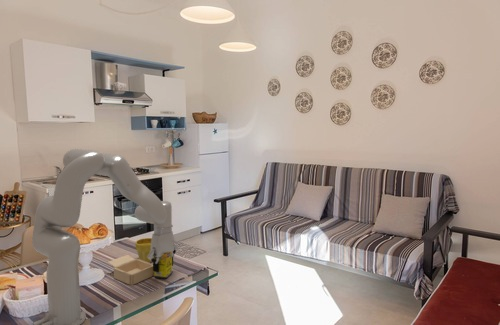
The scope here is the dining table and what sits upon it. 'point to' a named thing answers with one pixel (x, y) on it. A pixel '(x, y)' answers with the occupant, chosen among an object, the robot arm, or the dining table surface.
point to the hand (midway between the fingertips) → (163, 268)
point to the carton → (134, 271)
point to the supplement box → (164, 266)
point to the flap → (121, 261)
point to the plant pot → (143, 248)
